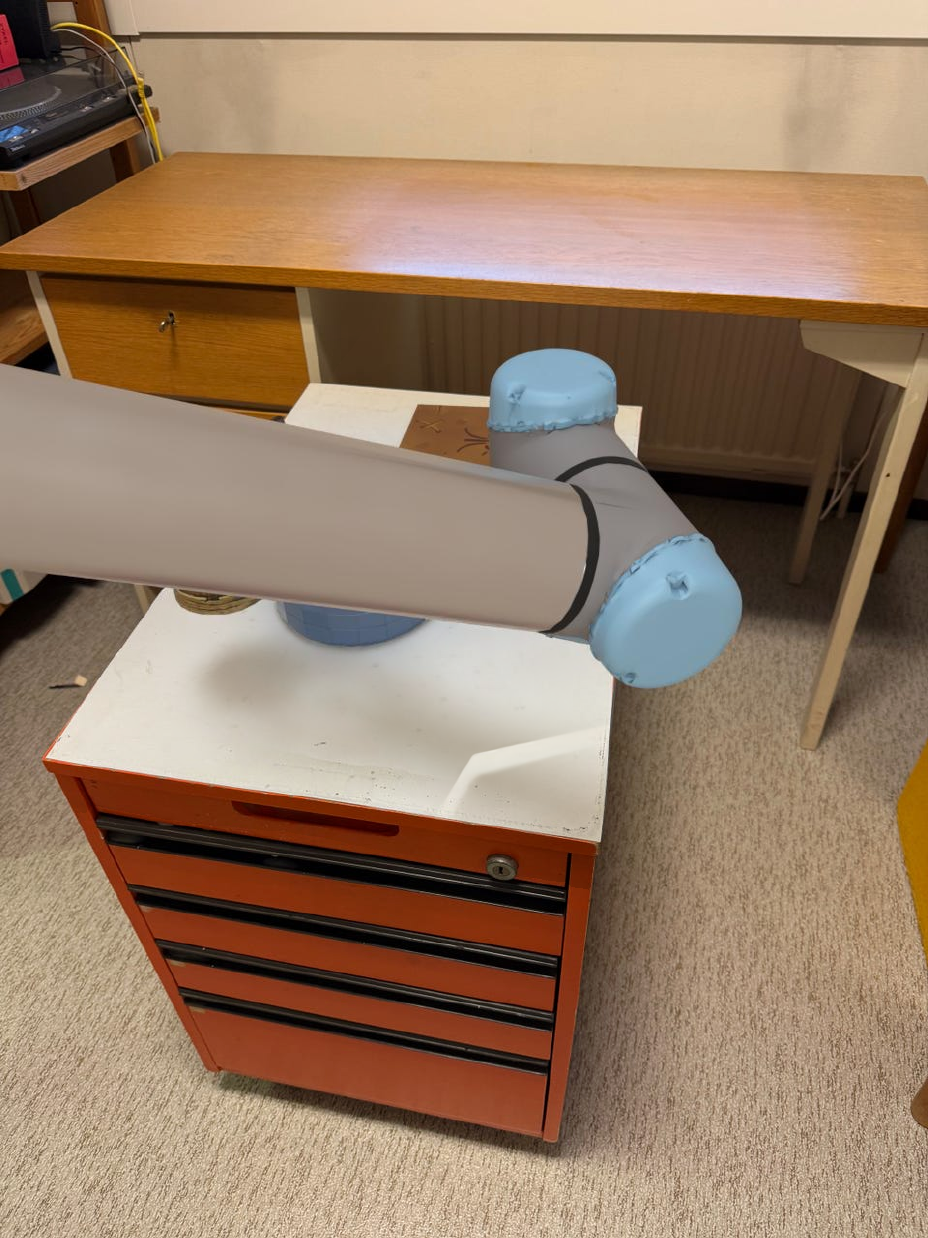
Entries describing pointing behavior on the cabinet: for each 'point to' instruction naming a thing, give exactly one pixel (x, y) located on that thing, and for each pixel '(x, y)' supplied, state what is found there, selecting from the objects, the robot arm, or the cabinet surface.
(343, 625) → the bowl
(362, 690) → the cabinet surface
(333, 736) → the cabinet surface
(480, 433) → the diary
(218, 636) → the cabinet surface
